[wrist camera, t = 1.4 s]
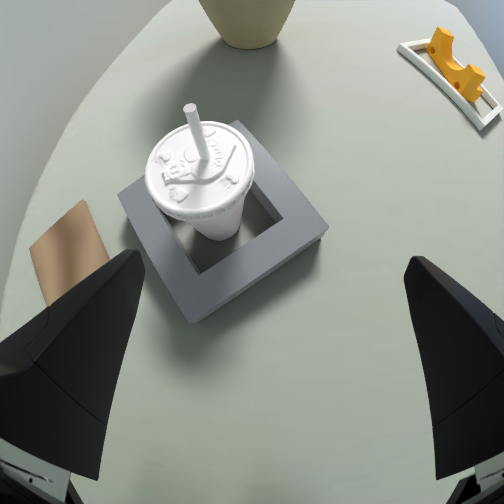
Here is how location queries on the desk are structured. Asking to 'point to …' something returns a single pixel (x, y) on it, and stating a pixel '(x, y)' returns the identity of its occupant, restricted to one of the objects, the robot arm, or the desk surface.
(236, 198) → the smoothie
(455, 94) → the tray
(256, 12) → the plant pot
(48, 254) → the pad
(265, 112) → the desk surface
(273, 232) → the dock
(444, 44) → the pipe clamp
